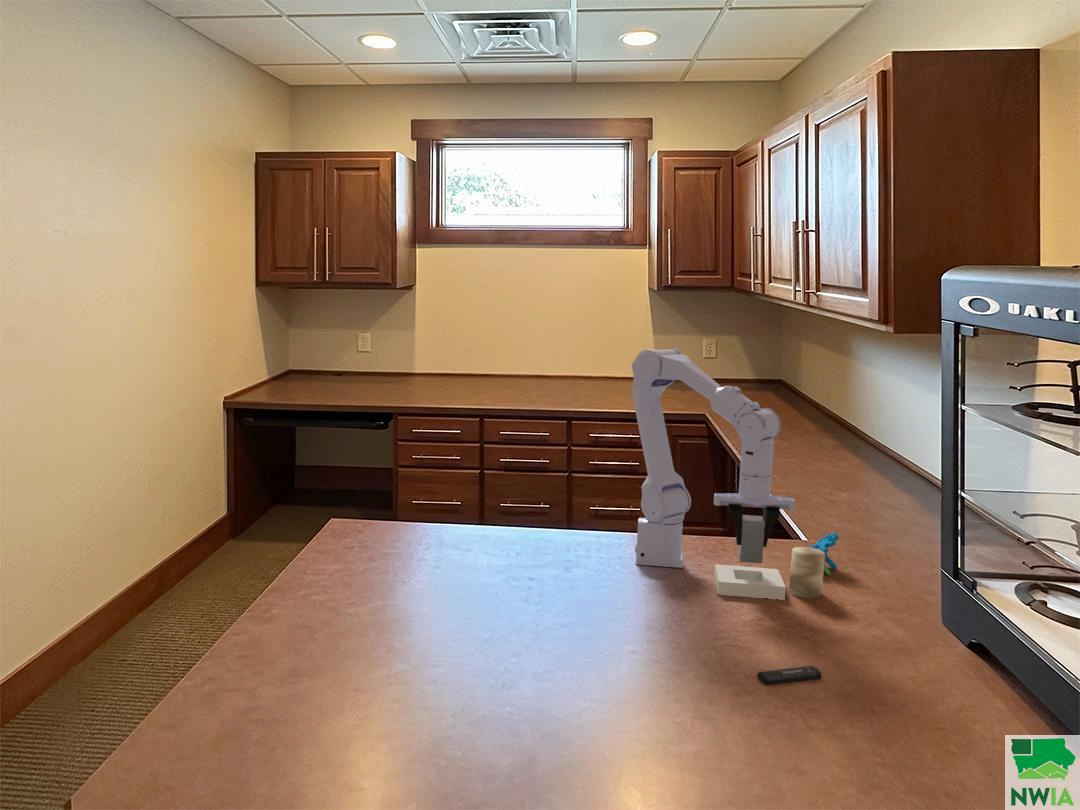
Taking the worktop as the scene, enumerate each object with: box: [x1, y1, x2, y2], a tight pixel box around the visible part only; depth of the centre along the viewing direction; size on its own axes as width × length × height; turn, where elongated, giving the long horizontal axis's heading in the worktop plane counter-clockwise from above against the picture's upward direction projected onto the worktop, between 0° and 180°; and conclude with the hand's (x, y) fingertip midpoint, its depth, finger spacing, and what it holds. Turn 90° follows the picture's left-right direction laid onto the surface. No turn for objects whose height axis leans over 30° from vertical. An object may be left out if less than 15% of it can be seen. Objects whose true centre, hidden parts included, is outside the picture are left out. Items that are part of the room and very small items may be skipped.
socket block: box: [713, 563, 786, 601], centre depth 149 cm, size 12×10×2 cm
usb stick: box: [756, 665, 822, 686], centre depth 113 cm, size 10×3×2 cm, turn 106°
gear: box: [809, 531, 840, 576], centre depth 161 cm, size 11×6×10 cm
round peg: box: [788, 546, 825, 599], centre depth 147 cm, size 6×6×8 cm
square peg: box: [737, 514, 765, 564], centre depth 148 cm, size 4×4×8 cm
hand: (751, 544), depth 148 cm, fingers closed on square peg, 4 cm apart
